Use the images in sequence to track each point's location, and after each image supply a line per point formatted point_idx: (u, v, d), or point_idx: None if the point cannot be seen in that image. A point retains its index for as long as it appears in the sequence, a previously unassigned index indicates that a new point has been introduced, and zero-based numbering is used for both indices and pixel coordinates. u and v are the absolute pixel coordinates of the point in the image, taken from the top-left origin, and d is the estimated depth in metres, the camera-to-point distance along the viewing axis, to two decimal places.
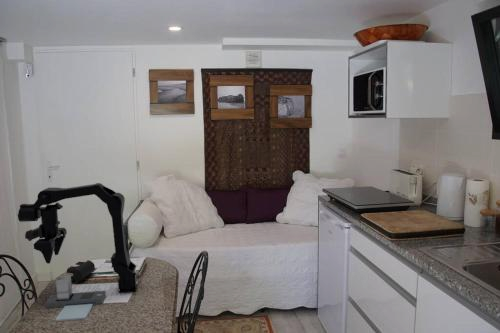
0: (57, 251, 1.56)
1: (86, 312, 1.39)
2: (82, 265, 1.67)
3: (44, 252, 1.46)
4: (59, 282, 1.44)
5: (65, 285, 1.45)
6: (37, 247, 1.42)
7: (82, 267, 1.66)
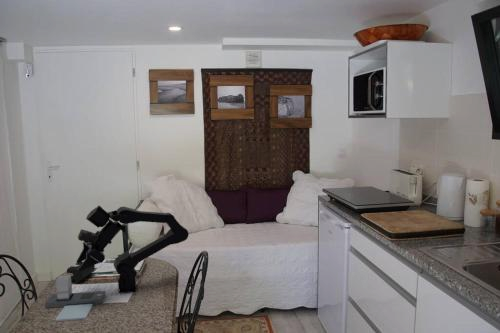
0: (81, 260, 1.52)
1: (86, 312, 1.39)
2: None
3: (87, 260, 1.44)
4: (59, 282, 1.44)
5: (65, 285, 1.45)
6: (92, 254, 1.41)
7: None
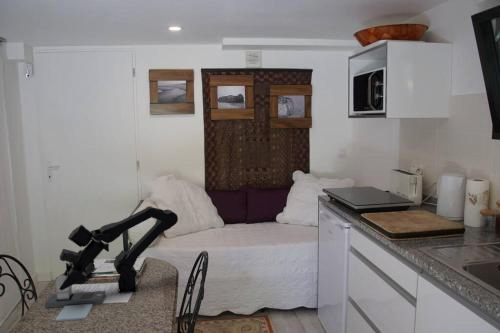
0: None
1: (86, 312, 1.39)
2: None
3: (68, 279, 1.43)
4: (59, 282, 1.44)
5: None
6: (74, 276, 1.39)
7: None
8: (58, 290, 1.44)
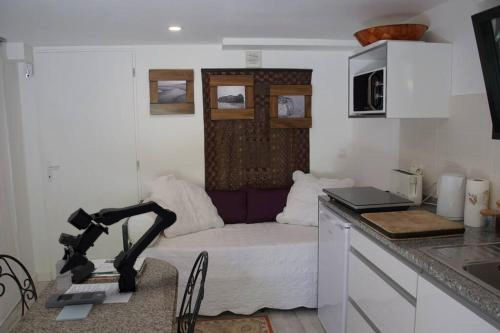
0: None
1: (86, 312, 1.39)
2: None
3: (69, 262, 1.41)
4: (58, 266, 1.41)
5: None
6: (75, 258, 1.37)
7: (82, 267, 1.66)
8: (58, 274, 1.42)
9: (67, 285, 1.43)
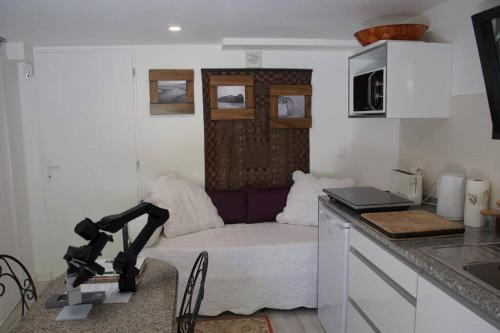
0: None
1: (86, 312, 1.39)
2: None
3: (83, 275, 1.36)
4: (70, 280, 1.35)
5: None
6: (95, 268, 1.34)
7: None
8: (70, 289, 1.36)
9: (79, 299, 1.38)
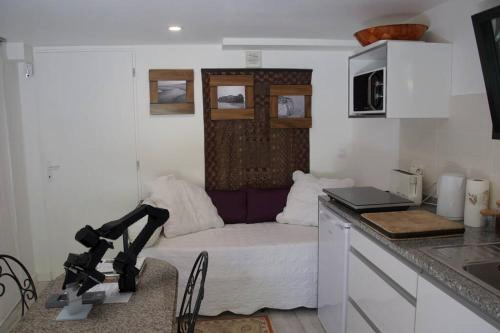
0: None
1: (86, 312, 1.39)
2: None
3: (86, 283, 1.36)
4: (71, 290, 1.36)
5: None
6: (95, 276, 1.35)
7: None
8: (71, 299, 1.36)
9: (80, 308, 1.38)
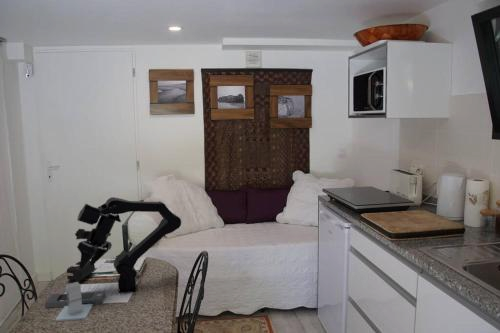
0: (93, 261, 1.54)
1: (86, 312, 1.39)
2: None
3: (83, 255, 1.44)
4: (71, 290, 1.36)
5: (78, 292, 1.37)
6: (80, 247, 1.41)
7: None
8: (71, 299, 1.36)
9: (80, 308, 1.38)
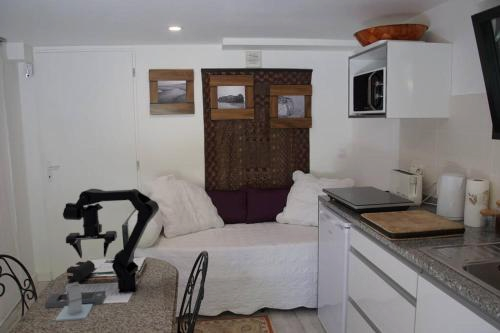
0: None
1: (86, 312, 1.39)
2: (82, 265, 1.67)
3: None
4: (71, 290, 1.36)
5: (78, 292, 1.37)
6: None
7: (82, 267, 1.66)
8: (71, 299, 1.36)
9: (80, 308, 1.38)
